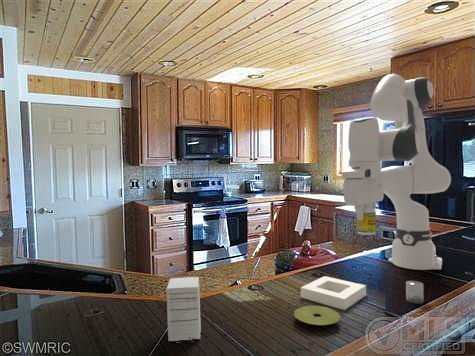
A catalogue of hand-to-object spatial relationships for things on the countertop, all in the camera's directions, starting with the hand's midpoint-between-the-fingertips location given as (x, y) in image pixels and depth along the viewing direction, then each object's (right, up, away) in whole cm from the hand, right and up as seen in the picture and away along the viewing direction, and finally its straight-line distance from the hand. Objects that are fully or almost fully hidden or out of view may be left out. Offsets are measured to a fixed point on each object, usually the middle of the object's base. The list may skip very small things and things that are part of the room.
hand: (365, 218), depth 97 cm
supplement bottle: (0, -5, 0) cm, 5 cm away
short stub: (+13, -23, -3) cm, 27 cm away
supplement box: (-51, -26, -19) cm, 60 cm away
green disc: (-18, -24, -15) cm, 34 cm away
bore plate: (-9, -24, +2) cm, 25 cm away
